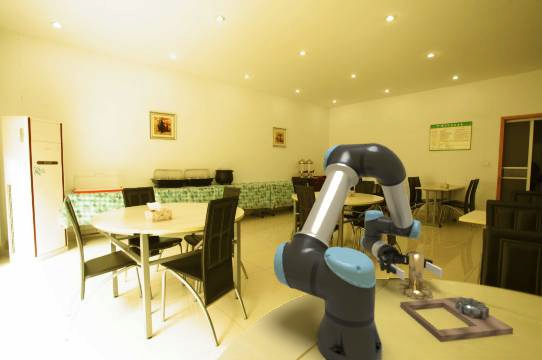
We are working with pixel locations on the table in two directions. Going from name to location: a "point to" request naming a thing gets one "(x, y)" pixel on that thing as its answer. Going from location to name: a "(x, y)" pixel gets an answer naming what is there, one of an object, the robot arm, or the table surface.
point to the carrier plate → (477, 325)
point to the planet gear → (416, 278)
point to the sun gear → (472, 308)
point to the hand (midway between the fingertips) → (422, 274)
